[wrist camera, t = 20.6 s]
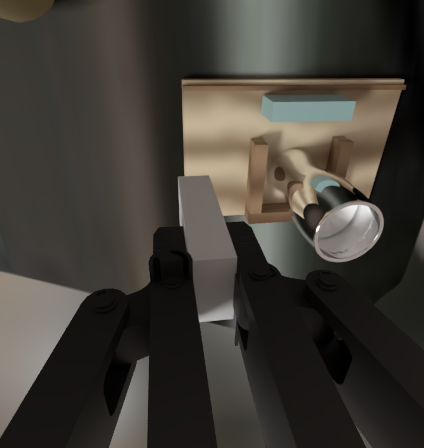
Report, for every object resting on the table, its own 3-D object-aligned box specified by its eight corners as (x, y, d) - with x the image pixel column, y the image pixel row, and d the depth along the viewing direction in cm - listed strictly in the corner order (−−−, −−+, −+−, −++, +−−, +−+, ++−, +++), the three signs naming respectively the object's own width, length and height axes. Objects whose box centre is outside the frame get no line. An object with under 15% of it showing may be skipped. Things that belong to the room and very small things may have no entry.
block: (262, 94, 36) (273, 102, 33) (338, 94, 37) (356, 101, 34) (260, 113, 37) (271, 122, 34) (334, 112, 38) (351, 120, 35)
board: (181, 78, 35) (183, 83, 32) (398, 78, 39) (419, 82, 36) (185, 213, 44) (187, 227, 41) (361, 203, 48) (376, 216, 45)
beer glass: (254, 181, 42) (296, 249, 29) (286, 134, 39) (348, 186, 27) (295, 202, 45) (350, 273, 32) (327, 160, 42) (401, 218, 29)
